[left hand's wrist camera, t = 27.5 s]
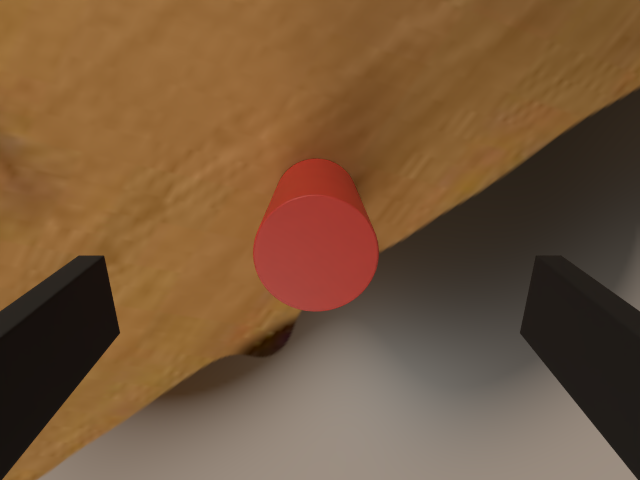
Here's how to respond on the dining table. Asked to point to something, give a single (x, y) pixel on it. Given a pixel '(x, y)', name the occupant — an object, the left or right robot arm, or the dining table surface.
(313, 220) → the canister
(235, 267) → the dining table surface
